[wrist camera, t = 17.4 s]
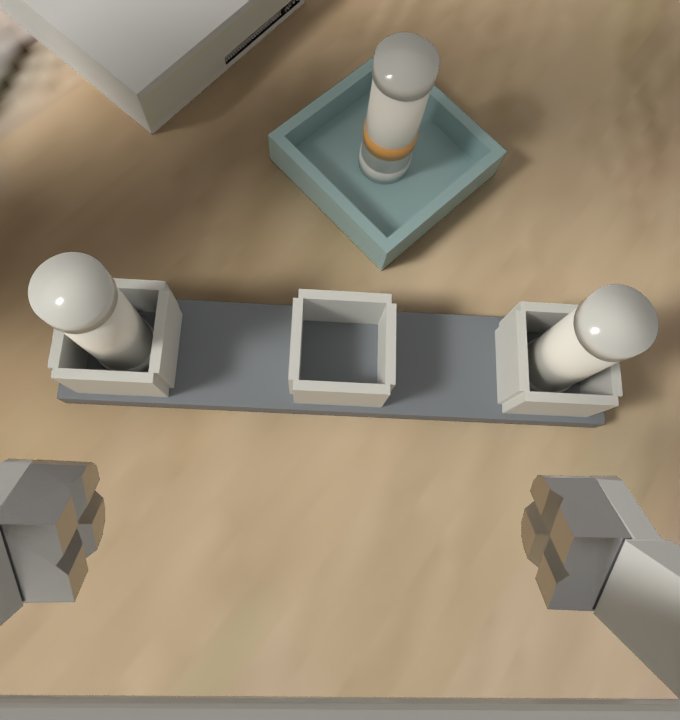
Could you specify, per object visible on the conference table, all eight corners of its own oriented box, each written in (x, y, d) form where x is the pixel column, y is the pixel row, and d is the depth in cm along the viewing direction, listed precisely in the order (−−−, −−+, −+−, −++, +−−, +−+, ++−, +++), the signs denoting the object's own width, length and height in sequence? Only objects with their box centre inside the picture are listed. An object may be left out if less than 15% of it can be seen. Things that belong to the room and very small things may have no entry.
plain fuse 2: (502, 367, 39) (568, 316, 29) (539, 330, 39) (616, 269, 30) (544, 409, 38) (626, 371, 28) (581, 371, 39) (673, 322, 29)
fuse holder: (594, 427, 39) (639, 413, 34) (66, 402, 38) (27, 383, 32) (586, 329, 41) (627, 301, 36) (82, 301, 40) (48, 267, 34)
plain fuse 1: (86, 345, 37) (11, 285, 28) (134, 308, 38) (77, 237, 28) (123, 388, 37) (60, 342, 27) (171, 350, 38) (126, 291, 28)
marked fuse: (347, 159, 43) (360, 55, 33) (384, 130, 44) (407, 21, 34) (383, 193, 42) (406, 98, 33) (419, 164, 43) (453, 62, 34)
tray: (270, 158, 43) (267, 134, 41) (385, 72, 46) (390, 44, 43) (381, 270, 42) (386, 253, 39) (494, 173, 44) (507, 151, 42)
